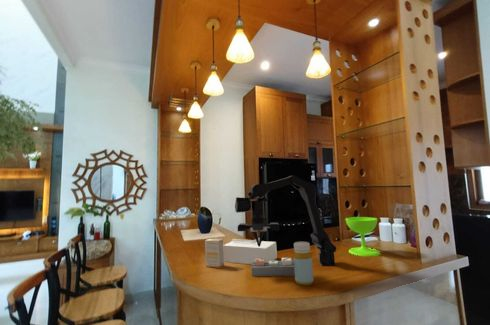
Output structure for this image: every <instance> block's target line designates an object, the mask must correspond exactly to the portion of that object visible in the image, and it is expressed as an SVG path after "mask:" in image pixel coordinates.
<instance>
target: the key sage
mask: <svg viewBox="0 0 490 325" xmlns="http://www.w3.org/2000/svg"><path fill="white" fill-rule="evenodd" d="M278 261H279V260H274V261H269V266H278Z"/></svg>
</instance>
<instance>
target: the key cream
mask: <svg viewBox="0 0 490 325" xmlns="http://www.w3.org/2000/svg"><path fill="white" fill-rule="evenodd" d="M281 261H282V265H292V262H291V261H292V258H291V257H281Z"/></svg>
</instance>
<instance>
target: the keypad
mask: <svg viewBox="0 0 490 325" xmlns="http://www.w3.org/2000/svg"><path fill="white" fill-rule="evenodd" d="M277 261H278V266H269V261H264V266H255V262H253V263H252V265H251V277H268V276H269V277H279V276H282V277H283V276H295V270H294V260H291V262H292V265H282V260H277Z"/></svg>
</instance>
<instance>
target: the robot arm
mask: <svg viewBox="0 0 490 325" xmlns="http://www.w3.org/2000/svg"><path fill="white" fill-rule="evenodd" d="M286 186H293V188H294V189H296V190H298V191H299V192H298V193H299V195H300V196H301V198H302V199H303V201H304V202H305V205H306V208H307V212H308V216H309V218H310V222H311V226H312V230H313V231H312V233H310V238H311V242H312V243H313V244H314V245H315V246H316V248H317V250H318V251H319V252H318V254H317V255H318V262H319V264H320V265H321V266H323V267H324V266H326V267H327V266H336V265H337V263H336V261H335V253H336V252H337V247H336V245H335V244H333V243H332V241H331V238H330V236H329V235H328V233H327V231H326V230H325V229H324V227H323V222H322V219H321V216H320V212H319V208H318V206H317V202H316V197H317V191H316V186H315V184H314V183H312V182H309V181H306V180H303V179H302V178H299V177H298V176H296V175H289V176H287V177H285V178H280V179H278V180H273V181H271V182H266V183H258V184H257V183H256V184H255V183H254V184H252V185H251V186H250V187H249V188H250V189H249V192H248V194H247V195H246V197H239V196H238V197H235V204H234V209H235V213H237V214H238V213H249V212H250V210H251V224H248V223H247V222H245V223H239V224H238V225H237V232H245V231H247V230H250V232H249V233H250V234H253V236H254V238H255V240H256V241H257V244H258V247H260V245H261V241H263V240H262V239H263V237H264V234H265V233H267V232H268V231H267V230H268V229H270V230H271V231H273V232H274V231H278V232H279V231H280V224H279V222H270V223H268V220H269V219H268V217H267V218H265V206H264V204H265V203H264V202H268V201H269V199H268V198H266V196H264V195H266V194H268V193H269V192H272V191H274V190H278V189H281V188H284V187H286ZM258 231H260V232H259V233H258ZM259 238H260V239H259Z"/></svg>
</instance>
